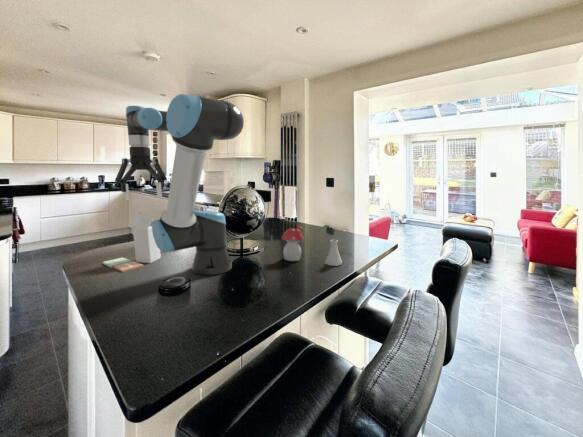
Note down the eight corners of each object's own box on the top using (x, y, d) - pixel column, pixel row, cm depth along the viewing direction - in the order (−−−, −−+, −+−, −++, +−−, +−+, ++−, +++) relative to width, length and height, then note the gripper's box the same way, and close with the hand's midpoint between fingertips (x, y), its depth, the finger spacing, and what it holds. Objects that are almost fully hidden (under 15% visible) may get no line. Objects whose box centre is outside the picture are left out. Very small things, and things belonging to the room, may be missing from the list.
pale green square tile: (131, 262, 126) (131, 260, 126) (110, 267, 120) (110, 265, 120) (122, 259, 131) (122, 256, 131) (102, 263, 125) (102, 261, 125)
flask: (345, 262, 125) (345, 239, 123) (337, 267, 119) (338, 243, 117) (329, 259, 129) (330, 237, 127) (321, 264, 123) (322, 241, 122)
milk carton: (150, 263, 125) (146, 219, 122) (135, 262, 126) (131, 218, 123) (161, 258, 132) (157, 216, 128) (147, 257, 133) (143, 215, 130)
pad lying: (143, 266, 121) (143, 264, 121) (122, 272, 115) (122, 269, 114) (134, 262, 126) (134, 260, 125) (113, 267, 119) (113, 265, 119)
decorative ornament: (305, 258, 131) (305, 225, 128) (299, 263, 125) (299, 228, 122) (285, 256, 134) (285, 223, 132) (279, 260, 128) (279, 226, 126)
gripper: (163, 148, 133) (167, 195, 136) (101, 145, 113) (107, 200, 117) (173, 147, 128) (176, 196, 132) (109, 144, 109) (115, 202, 113)
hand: (144, 198), depth 124 cm, fingers open, 13 cm apart
